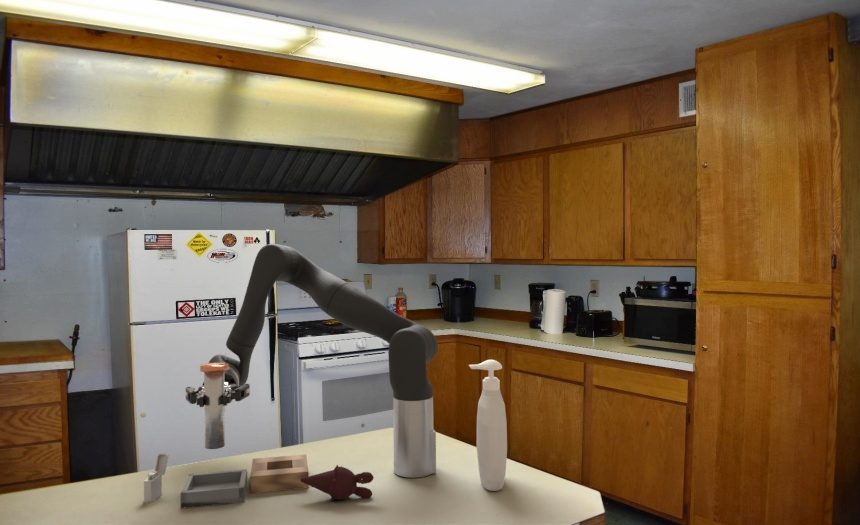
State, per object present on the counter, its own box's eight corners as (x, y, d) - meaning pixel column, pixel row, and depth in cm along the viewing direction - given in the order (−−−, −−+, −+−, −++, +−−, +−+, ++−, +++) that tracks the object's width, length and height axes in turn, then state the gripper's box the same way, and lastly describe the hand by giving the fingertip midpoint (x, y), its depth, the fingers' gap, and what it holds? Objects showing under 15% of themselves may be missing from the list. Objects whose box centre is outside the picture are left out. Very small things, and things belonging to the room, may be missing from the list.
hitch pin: (230, 441, 130) (229, 362, 130) (227, 449, 125) (227, 366, 125) (202, 443, 129) (201, 363, 129) (198, 451, 123) (198, 368, 123)
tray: (247, 482, 133) (247, 469, 133) (244, 502, 123) (244, 487, 123) (189, 488, 131) (189, 474, 131) (180, 508, 120) (180, 493, 120)
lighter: (151, 502, 123) (151, 463, 123) (143, 502, 123) (143, 462, 123) (169, 489, 130) (168, 451, 130) (161, 489, 130) (160, 451, 130)
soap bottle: (468, 472, 139) (466, 354, 139) (503, 472, 139) (502, 354, 139) (472, 497, 124) (470, 365, 124) (511, 496, 124) (510, 365, 124)
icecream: (296, 475, 120) (371, 482, 119) (305, 454, 127) (376, 460, 127) (295, 505, 122) (369, 512, 121) (304, 483, 129) (374, 489, 128)
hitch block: (306, 469, 142) (306, 454, 142) (308, 487, 130) (308, 471, 130) (253, 473, 139) (252, 458, 139) (250, 493, 127) (250, 476, 127)
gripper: (188, 369, 139) (175, 385, 122) (253, 366, 142) (249, 381, 126) (188, 402, 139) (176, 422, 122) (253, 398, 142) (249, 417, 126)
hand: (213, 401), depth 124 cm, fingers closed on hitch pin, 4 cm apart
